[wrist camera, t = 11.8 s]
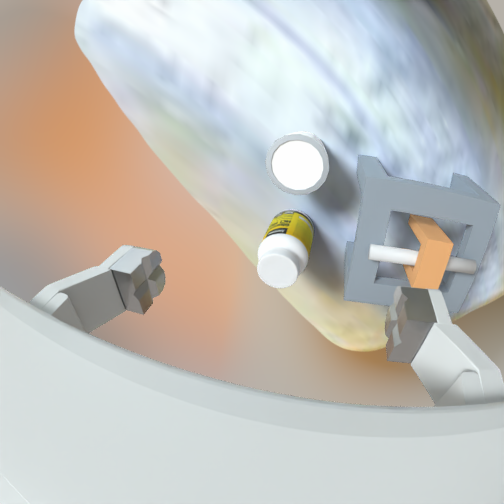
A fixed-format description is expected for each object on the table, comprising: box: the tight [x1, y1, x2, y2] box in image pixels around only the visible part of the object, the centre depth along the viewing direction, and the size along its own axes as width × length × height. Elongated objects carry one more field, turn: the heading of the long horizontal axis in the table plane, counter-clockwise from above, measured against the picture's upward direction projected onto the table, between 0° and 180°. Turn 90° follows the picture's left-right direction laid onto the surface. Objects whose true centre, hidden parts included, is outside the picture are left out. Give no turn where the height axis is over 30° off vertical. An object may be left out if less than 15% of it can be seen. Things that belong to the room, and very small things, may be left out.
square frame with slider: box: [344, 155, 500, 313], centre depth 30 cm, size 15×16×12 cm
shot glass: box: [265, 131, 329, 195], centre depth 32 cm, size 7×7×7 cm
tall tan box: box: [403, 214, 453, 289], centre depth 27 cm, size 6×3×8 cm, turn 0°
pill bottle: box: [257, 209, 314, 288], centre depth 36 cm, size 6×6×11 cm
